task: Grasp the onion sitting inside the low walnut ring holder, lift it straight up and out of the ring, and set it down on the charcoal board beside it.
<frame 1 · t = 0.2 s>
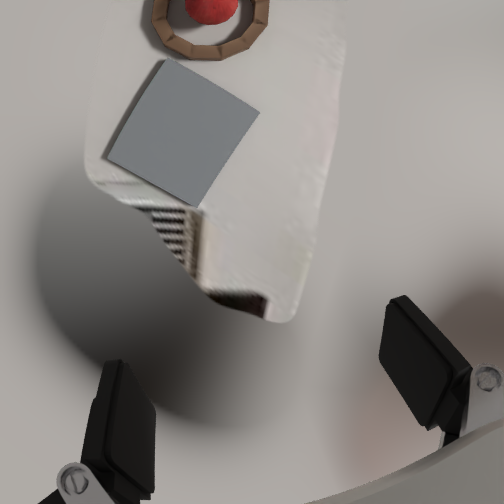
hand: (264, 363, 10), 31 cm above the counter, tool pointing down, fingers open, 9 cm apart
onion: (210, 12, 28), resting in ring holder
ring holder: (210, 11, 28), on the counter
board: (181, 132, 34), on the counter
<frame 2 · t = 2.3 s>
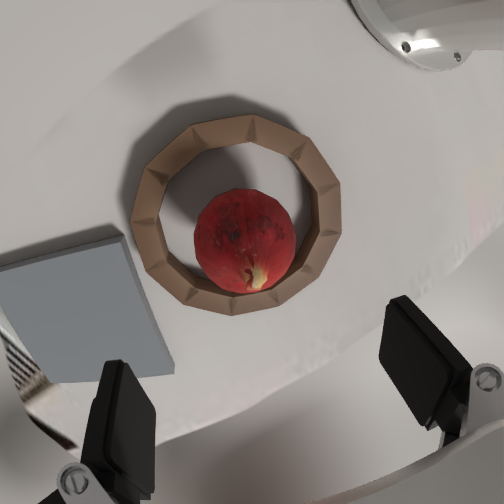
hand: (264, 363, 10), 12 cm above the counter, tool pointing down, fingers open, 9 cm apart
onion: (237, 217, 21), resting in ring holder
ring holder: (237, 218, 21), on the counter
board: (78, 320, 23), on the counter
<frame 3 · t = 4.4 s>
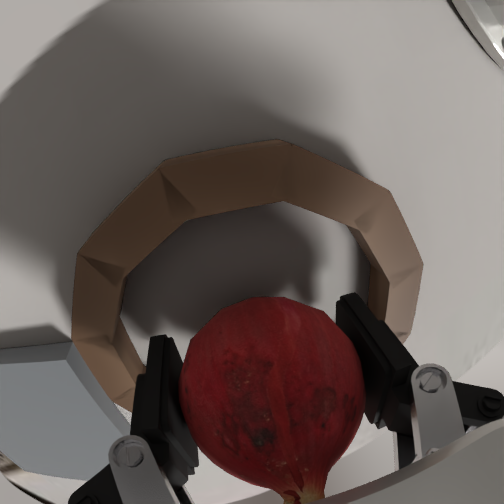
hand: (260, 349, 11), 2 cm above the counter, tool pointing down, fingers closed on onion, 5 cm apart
onion: (251, 317, 13), resting in ring holder, touching gripper
ring holder: (252, 320, 12), on the counter
board: (39, 423, 14), on the counter
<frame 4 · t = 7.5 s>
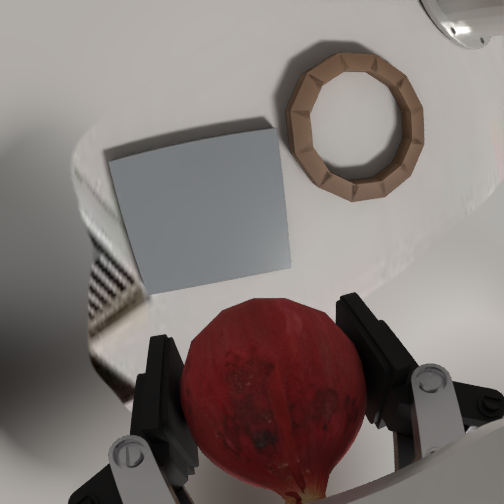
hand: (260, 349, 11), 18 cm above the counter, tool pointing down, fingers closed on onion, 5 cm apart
onion: (252, 318, 12), point 16 cm above the counter, touching gripper
ring holder: (358, 125, 25), on the counter
board: (204, 212, 27), on the counter
when the fingers open (4 cm above the counter, at t = 11.1 s): onion drops 1 cm, resting on board.
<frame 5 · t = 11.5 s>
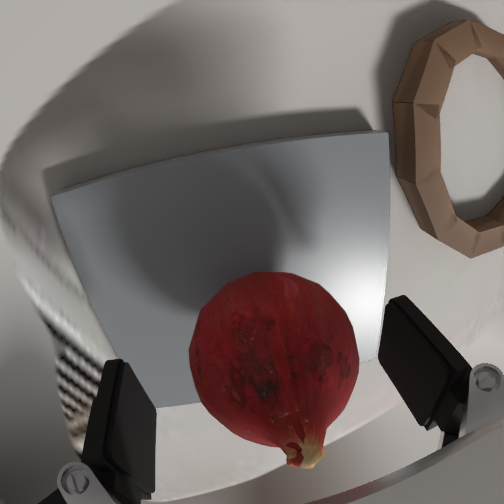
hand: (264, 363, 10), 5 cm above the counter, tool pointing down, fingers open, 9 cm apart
onion: (253, 296, 14), point 1 cm above the counter, touching board
ring holder: (480, 138, 13), on the counter
board: (243, 287, 15), on the counter
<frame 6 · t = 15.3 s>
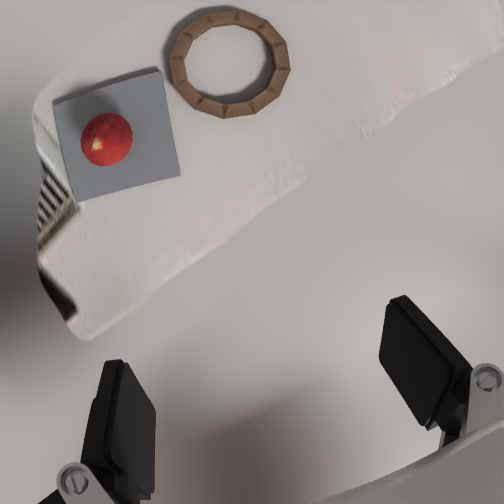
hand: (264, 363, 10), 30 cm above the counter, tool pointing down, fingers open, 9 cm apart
onion: (115, 136, 32), point 1 cm above the counter, touching board
ring holder: (229, 63, 31), on the counter
board: (115, 137, 33), on the counter
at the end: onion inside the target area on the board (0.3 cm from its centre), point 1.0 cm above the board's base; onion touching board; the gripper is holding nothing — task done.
